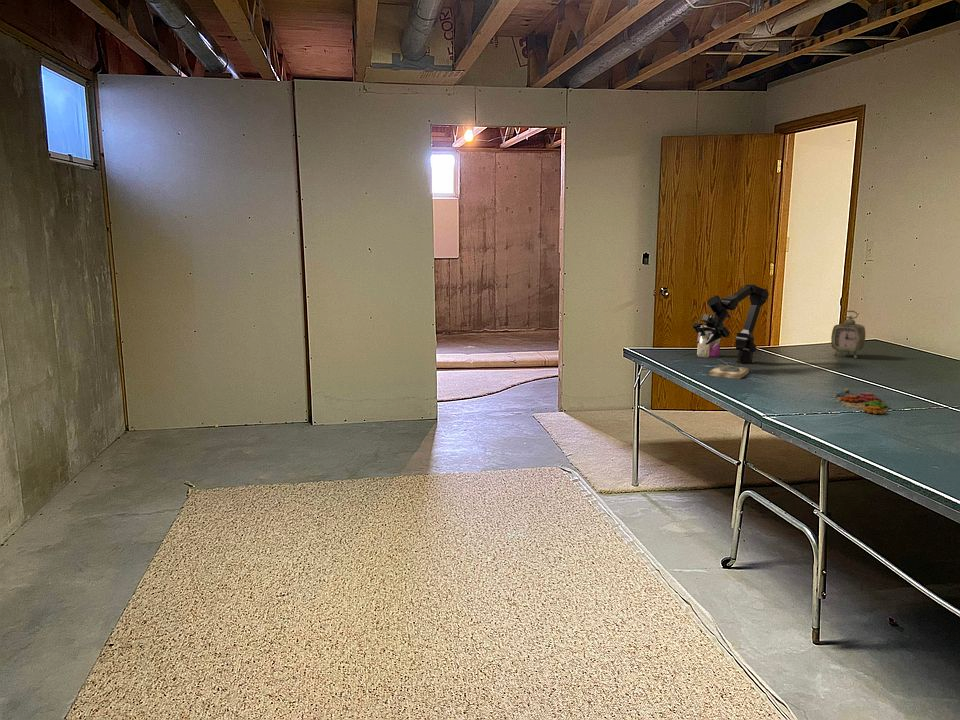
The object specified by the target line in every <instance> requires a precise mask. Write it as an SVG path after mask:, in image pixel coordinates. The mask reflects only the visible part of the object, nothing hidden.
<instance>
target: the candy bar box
mask: <svg viewBox="0 0 960 720" xmlns="http://www.w3.org/2000/svg"><path fill="white" fill-rule="evenodd" d="M704 326H705V327H706V325H704ZM705 334H706V335H707V336H710V335H711V334H712V332H708V331H705ZM721 339H722V338H719V339H717V340H715V341H713V342H711V343H710V344H709V357H716V358H718V357H719V358H720V352H721ZM698 347H699V343H698V342H697V352H696V355H697V356H698Z"/></svg>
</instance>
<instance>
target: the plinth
mask: <svg viewBox="0 0 960 720" xmlns="http://www.w3.org/2000/svg"><path fill="white" fill-rule="evenodd" d="M749 371H750V368H749V367H739V366H731V365H717V366H716V367H714V368H712V369H711V370H710V371H708V376H709V377H718V378H729V379H734V380H735V379H737V380H740V379H741V378H743V377H744V376H746V375H747V374H748V373H749Z"/></svg>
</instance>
